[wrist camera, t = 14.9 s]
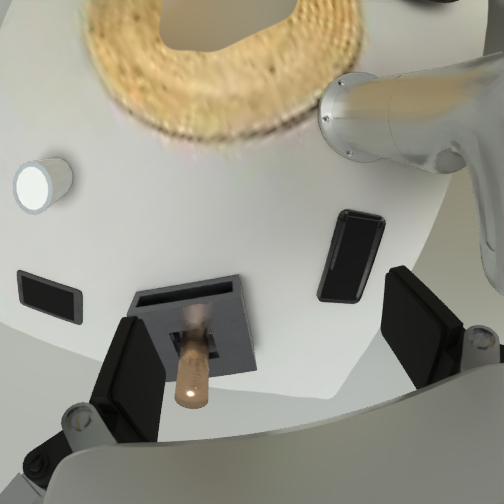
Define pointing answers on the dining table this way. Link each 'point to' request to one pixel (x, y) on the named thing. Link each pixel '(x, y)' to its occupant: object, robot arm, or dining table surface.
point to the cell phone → (50, 297)
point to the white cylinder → (41, 184)
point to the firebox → (199, 323)
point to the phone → (350, 257)
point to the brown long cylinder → (193, 369)
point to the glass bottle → (444, 1)
